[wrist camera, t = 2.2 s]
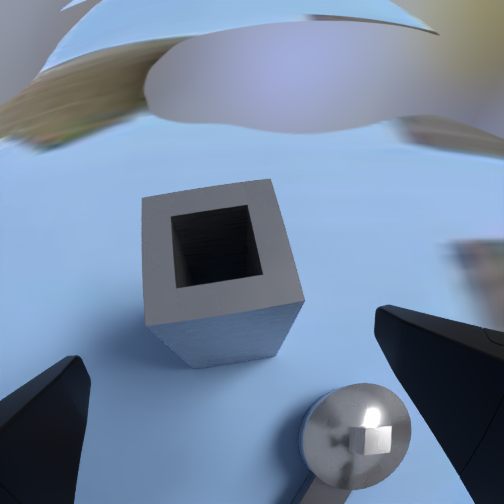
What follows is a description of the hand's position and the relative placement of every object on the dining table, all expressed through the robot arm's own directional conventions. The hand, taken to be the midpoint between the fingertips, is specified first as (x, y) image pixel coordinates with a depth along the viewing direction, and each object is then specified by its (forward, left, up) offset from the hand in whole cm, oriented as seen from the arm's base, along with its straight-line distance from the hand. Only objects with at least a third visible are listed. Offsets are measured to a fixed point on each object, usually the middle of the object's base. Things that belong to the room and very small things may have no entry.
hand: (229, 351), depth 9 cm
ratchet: (-5, -8, -10) cm, 14 cm away
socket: (+3, +2, -10) cm, 11 cm away
